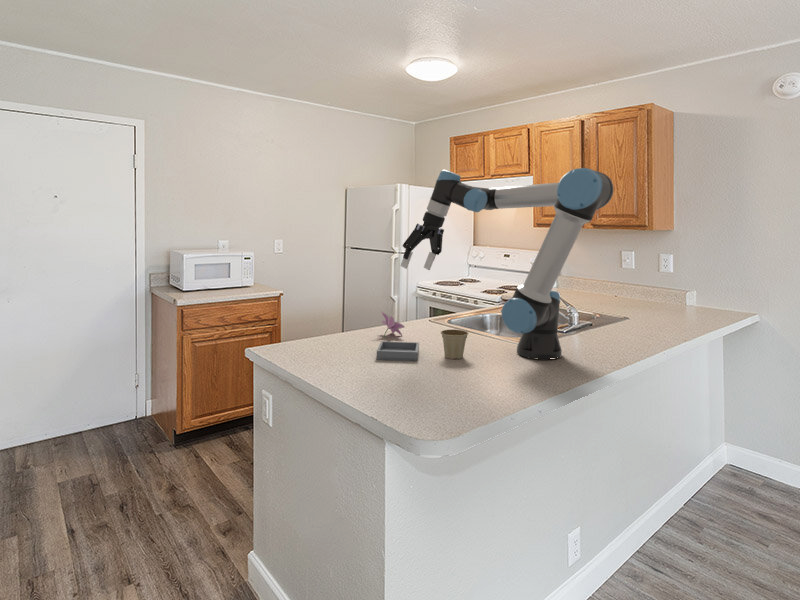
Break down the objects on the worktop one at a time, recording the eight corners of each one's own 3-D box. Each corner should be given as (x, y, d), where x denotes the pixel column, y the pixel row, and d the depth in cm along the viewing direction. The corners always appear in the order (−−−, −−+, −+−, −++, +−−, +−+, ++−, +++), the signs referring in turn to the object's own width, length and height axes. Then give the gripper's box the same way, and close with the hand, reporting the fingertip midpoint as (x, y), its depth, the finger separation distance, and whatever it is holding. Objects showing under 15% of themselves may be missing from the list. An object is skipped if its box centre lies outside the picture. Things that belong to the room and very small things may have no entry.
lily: (404, 342, 196) (412, 319, 199) (377, 331, 193) (385, 308, 196) (394, 344, 207) (401, 323, 210) (368, 335, 204) (376, 313, 207)
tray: (418, 350, 180) (419, 342, 179) (417, 361, 166) (417, 352, 166) (381, 349, 180) (381, 341, 180) (376, 359, 167) (376, 350, 167)
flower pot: (466, 361, 167) (467, 336, 165) (438, 359, 168) (439, 334, 167) (468, 354, 176) (469, 330, 174) (441, 352, 177) (442, 328, 176)
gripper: (448, 214, 192) (428, 265, 198) (406, 205, 173) (386, 262, 179) (463, 221, 187) (442, 273, 193) (421, 212, 168) (400, 270, 174)
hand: (415, 268), depth 186 cm, fingers open, 13 cm apart
